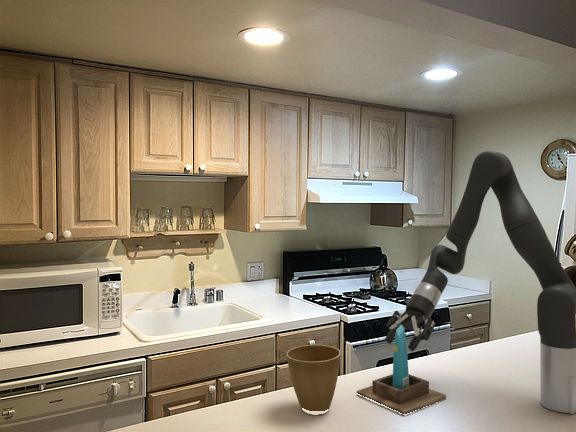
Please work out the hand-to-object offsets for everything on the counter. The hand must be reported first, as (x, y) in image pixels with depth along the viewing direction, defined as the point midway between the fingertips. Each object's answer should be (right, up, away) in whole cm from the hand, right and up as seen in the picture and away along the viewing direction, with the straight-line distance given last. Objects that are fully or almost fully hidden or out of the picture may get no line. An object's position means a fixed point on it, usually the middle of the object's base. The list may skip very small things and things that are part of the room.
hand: (398, 345), depth 139 cm
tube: (+1, -14, +1) cm, 14 cm away
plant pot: (-25, -16, -7) cm, 30 cm away
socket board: (+1, -15, +1) cm, 15 cm away
